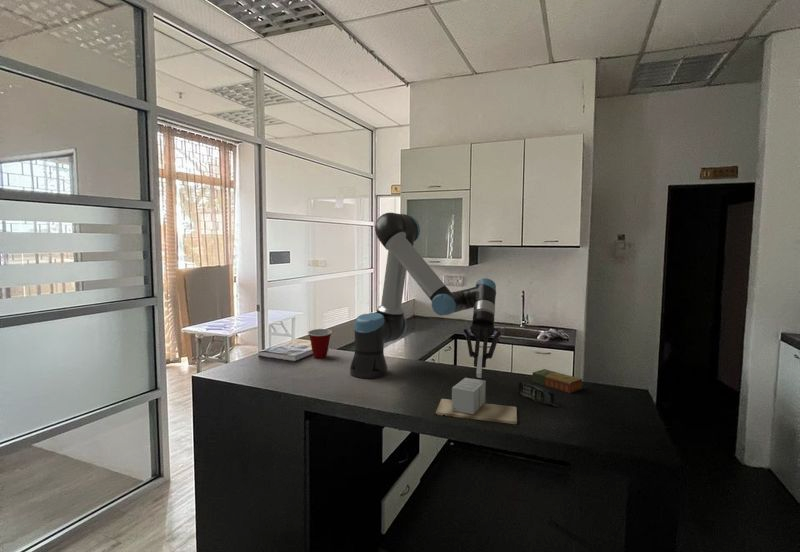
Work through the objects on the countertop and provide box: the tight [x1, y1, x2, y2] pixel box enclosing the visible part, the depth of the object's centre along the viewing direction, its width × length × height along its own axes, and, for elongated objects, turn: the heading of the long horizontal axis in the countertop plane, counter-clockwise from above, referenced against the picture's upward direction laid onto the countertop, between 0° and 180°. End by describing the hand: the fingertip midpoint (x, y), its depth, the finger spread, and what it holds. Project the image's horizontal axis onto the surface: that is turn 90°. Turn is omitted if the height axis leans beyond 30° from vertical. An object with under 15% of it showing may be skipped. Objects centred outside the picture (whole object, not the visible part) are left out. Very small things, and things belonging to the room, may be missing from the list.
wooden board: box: [435, 398, 518, 425], centre depth 131 cm, size 24×12×1 cm, turn 75°
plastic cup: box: [307, 328, 333, 359], centre depth 192 cm, size 11×11×12 cm
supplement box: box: [451, 377, 487, 414], centre depth 133 cm, size 7×7×13 cm
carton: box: [531, 368, 583, 394], centre depth 159 cm, size 8×16×4 cm, turn 37°
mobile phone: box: [518, 381, 559, 407], centre depth 143 cm, size 5×3×15 cm
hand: (478, 375), depth 135 cm, fingers closed
